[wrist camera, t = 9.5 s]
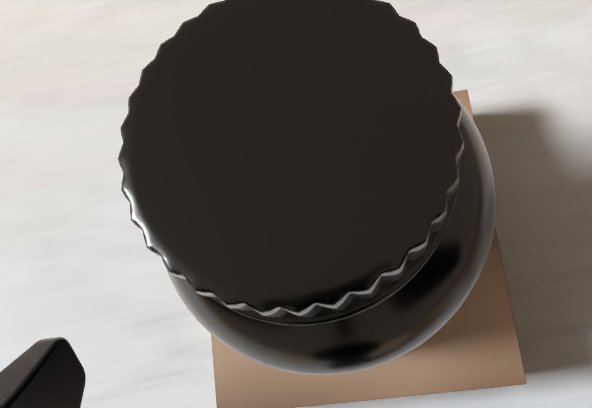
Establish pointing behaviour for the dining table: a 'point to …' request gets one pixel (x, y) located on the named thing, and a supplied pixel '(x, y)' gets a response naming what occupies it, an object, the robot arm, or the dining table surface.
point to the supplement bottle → (309, 181)
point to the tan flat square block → (404, 370)
